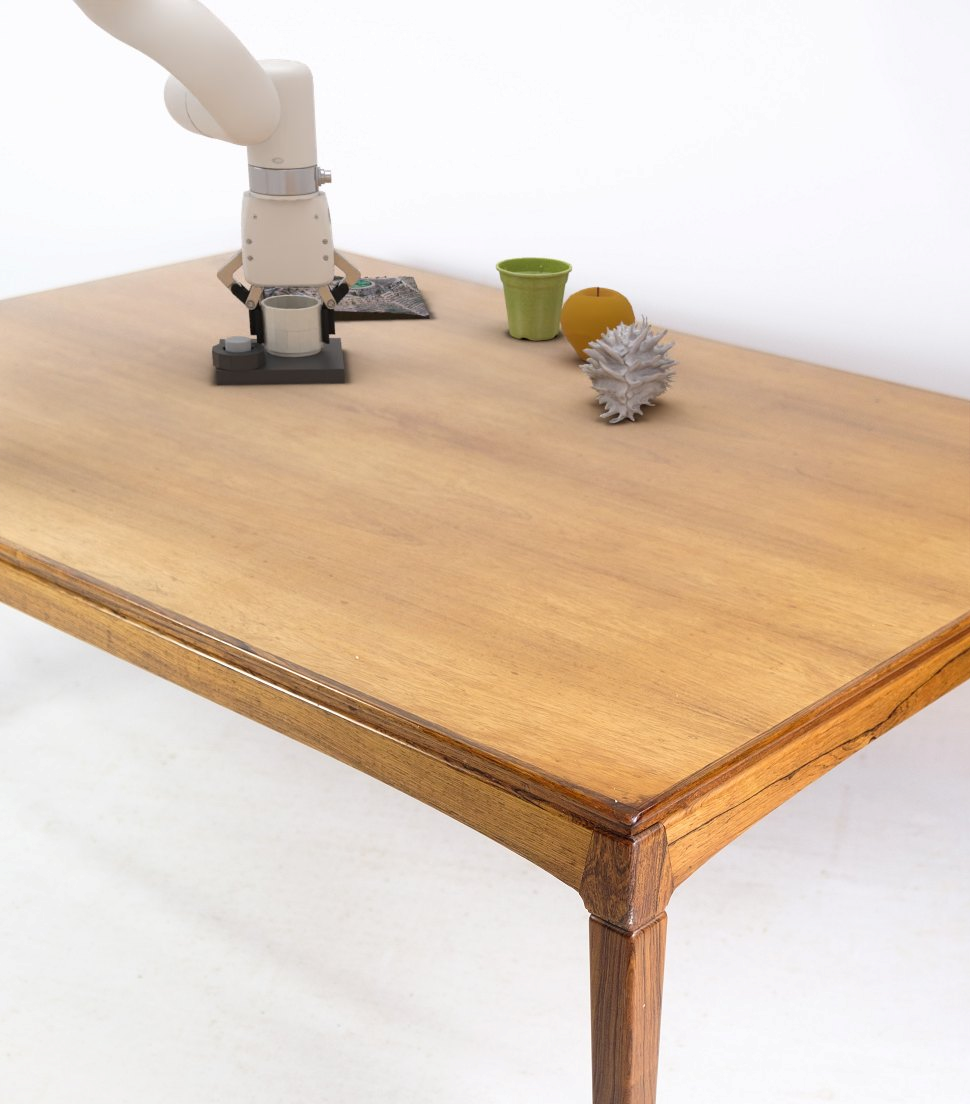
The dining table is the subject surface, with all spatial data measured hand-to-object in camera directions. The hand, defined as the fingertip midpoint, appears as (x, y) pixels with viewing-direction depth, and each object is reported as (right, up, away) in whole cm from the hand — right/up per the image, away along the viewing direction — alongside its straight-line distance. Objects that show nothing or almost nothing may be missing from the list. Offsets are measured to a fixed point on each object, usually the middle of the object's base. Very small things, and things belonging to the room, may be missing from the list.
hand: (293, 339), depth 188 cm
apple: (+35, -1, +8) cm, 36 cm away
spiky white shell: (+38, -10, -9) cm, 41 cm away
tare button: (-5, -3, -6) cm, 8 cm away
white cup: (0, -1, +1) cm, 1 cm away
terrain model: (+1, +10, +25) cm, 27 cm away
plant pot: (+27, +4, +17) cm, 32 cm away
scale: (-1, -3, 0) cm, 4 cm away
